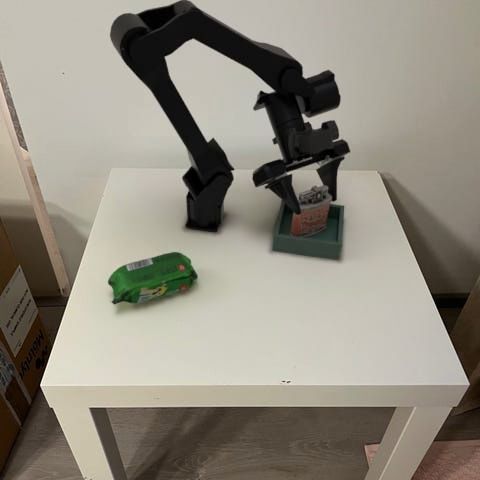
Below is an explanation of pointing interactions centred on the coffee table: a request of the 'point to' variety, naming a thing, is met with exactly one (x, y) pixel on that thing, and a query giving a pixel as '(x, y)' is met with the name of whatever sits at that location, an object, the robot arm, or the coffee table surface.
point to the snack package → (152, 278)
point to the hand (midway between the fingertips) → (317, 207)
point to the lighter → (311, 212)
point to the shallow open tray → (315, 246)
